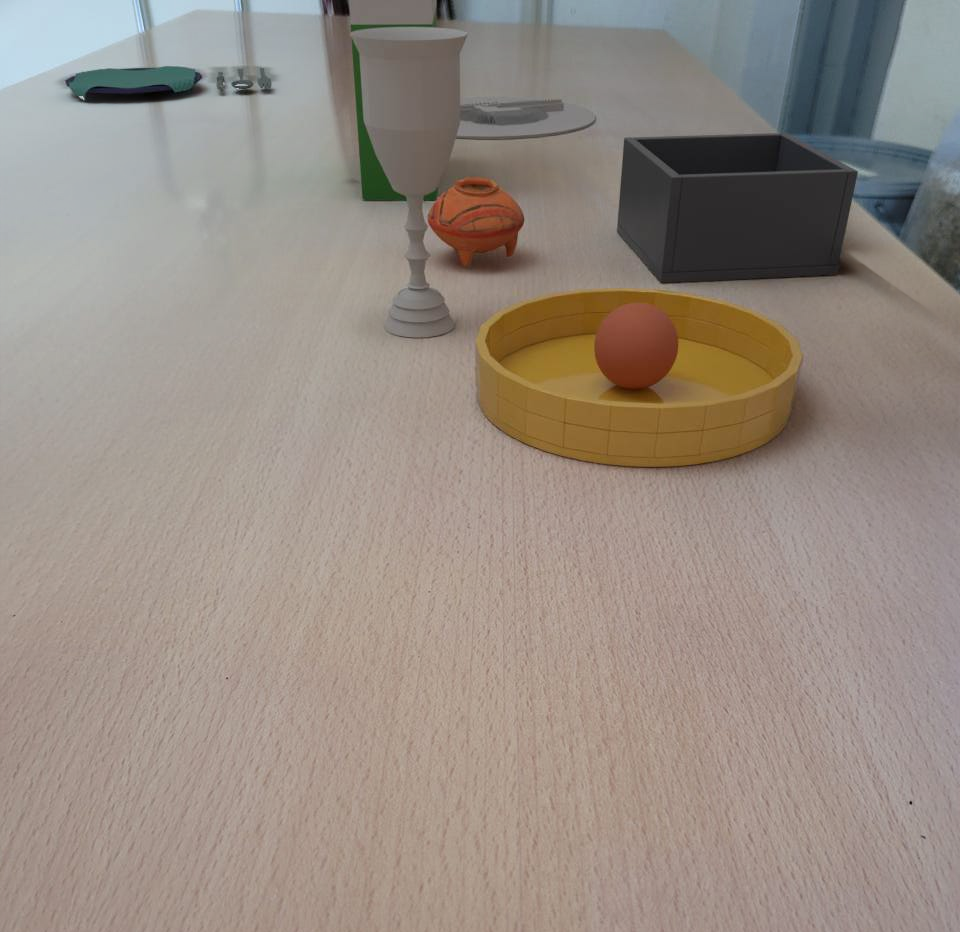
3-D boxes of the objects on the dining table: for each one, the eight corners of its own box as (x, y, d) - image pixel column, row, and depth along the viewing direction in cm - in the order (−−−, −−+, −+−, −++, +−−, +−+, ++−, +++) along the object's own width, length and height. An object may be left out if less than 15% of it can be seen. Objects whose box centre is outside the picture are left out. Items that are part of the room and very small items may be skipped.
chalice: (352, 334, 70) (329, 37, 59) (392, 304, 75) (377, 24, 64) (449, 347, 68) (443, 42, 57) (483, 315, 73) (484, 29, 62)
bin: (771, 225, 92) (786, 132, 87) (836, 275, 81) (858, 171, 76) (616, 232, 91) (624, 137, 86) (660, 283, 79) (671, 177, 74)
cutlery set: (75, 84, 157) (71, 67, 155) (268, 77, 162) (266, 61, 160) (60, 106, 141) (55, 87, 140) (274, 98, 146) (272, 80, 145)
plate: (549, 94, 148) (549, 85, 147) (630, 130, 127) (631, 119, 126) (365, 106, 141) (364, 96, 140) (418, 145, 120) (417, 134, 119)
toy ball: (660, 368, 64) (669, 289, 61) (683, 400, 60) (694, 317, 57) (583, 372, 63) (588, 293, 60) (601, 405, 59) (608, 321, 56)
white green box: (375, 160, 114) (359, -102, 99) (440, 160, 114) (434, -102, 99) (362, 200, 100) (342, -99, 85) (436, 199, 100) (428, -100, 85)
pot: (509, 236, 88) (517, 160, 83) (527, 285, 83) (536, 207, 78) (419, 238, 87) (422, 160, 82) (432, 287, 82) (435, 208, 77)
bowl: (729, 332, 70) (737, 282, 68) (843, 455, 55) (858, 396, 53) (459, 345, 68) (459, 294, 66) (501, 478, 53) (502, 417, 51)
